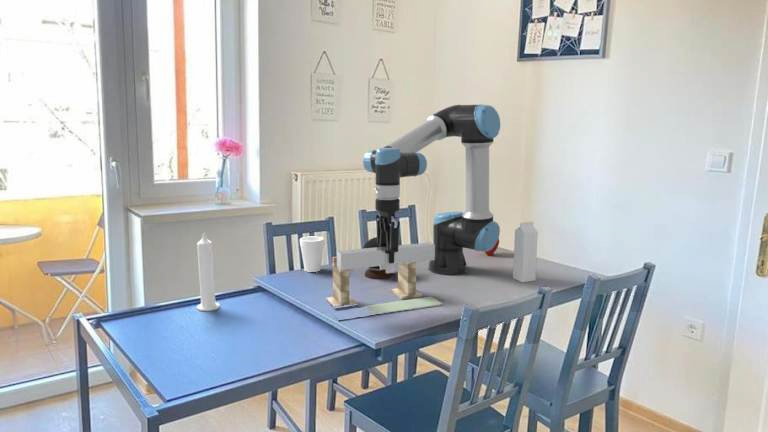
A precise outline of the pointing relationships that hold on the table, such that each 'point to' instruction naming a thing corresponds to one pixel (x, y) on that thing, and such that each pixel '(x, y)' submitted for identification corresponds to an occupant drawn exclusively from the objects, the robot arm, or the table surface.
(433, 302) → the mat
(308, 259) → the foam cup
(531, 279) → the milk
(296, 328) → the table surface
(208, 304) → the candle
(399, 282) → the cradle posts
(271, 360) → the table surface
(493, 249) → the apple
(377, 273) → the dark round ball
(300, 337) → the table surface
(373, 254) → the rail
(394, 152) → the robot arm
